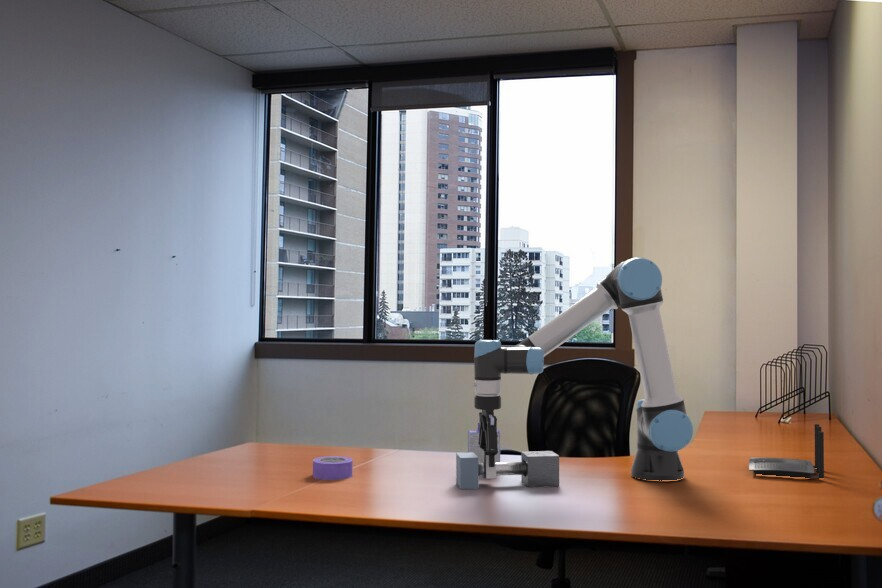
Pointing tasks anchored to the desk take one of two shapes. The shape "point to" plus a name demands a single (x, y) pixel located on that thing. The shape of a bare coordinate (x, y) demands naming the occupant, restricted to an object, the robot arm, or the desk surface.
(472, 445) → the ink cartridge box
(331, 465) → the tape roll
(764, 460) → the router
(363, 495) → the desk surface
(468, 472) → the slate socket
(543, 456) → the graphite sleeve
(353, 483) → the desk surface
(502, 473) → the metal rod with block
